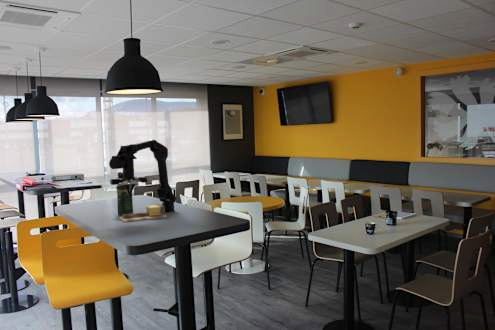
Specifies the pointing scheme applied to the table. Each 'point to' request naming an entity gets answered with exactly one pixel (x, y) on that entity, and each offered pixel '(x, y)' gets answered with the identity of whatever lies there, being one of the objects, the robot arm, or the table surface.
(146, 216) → the track
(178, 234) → the table surface
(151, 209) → the block
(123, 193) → the coffee jar
